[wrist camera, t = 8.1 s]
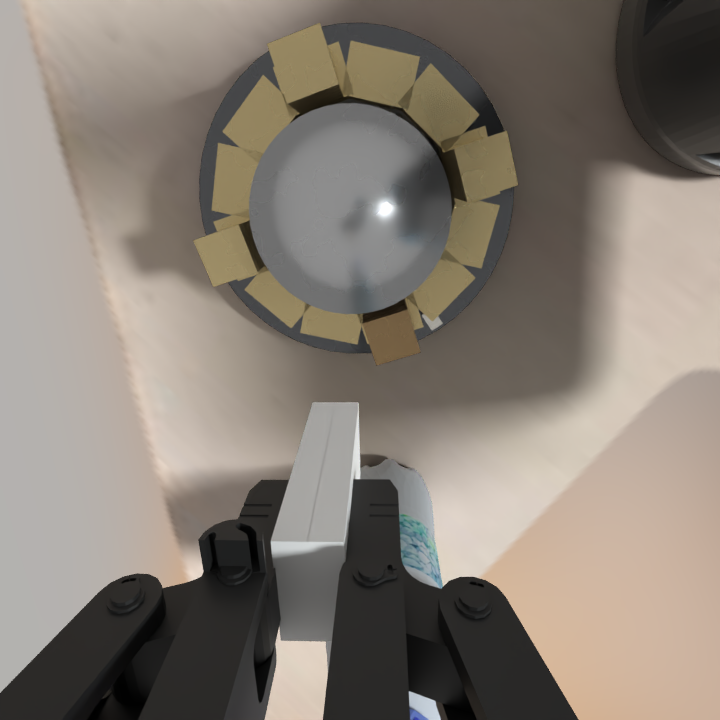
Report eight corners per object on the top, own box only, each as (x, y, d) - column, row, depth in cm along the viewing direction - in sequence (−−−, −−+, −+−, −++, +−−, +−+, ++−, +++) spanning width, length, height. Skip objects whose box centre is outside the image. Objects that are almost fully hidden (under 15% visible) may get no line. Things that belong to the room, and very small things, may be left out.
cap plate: (397, -47, 26) (407, -150, 18) (558, 240, 31) (626, 266, 23) (148, 166, 30) (61, 164, 22) (326, 391, 35) (311, 460, 27)
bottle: (324, 484, 38) (274, 789, 19) (390, 432, 36) (408, 711, 17) (382, 538, 39) (390, 869, 21) (449, 490, 38) (523, 804, 19)
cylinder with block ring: (174, 111, 27) (131, 98, 22) (452, 3, 25) (471, -38, 20) (279, 364, 32) (262, 399, 27) (517, 292, 30) (545, 315, 25)
